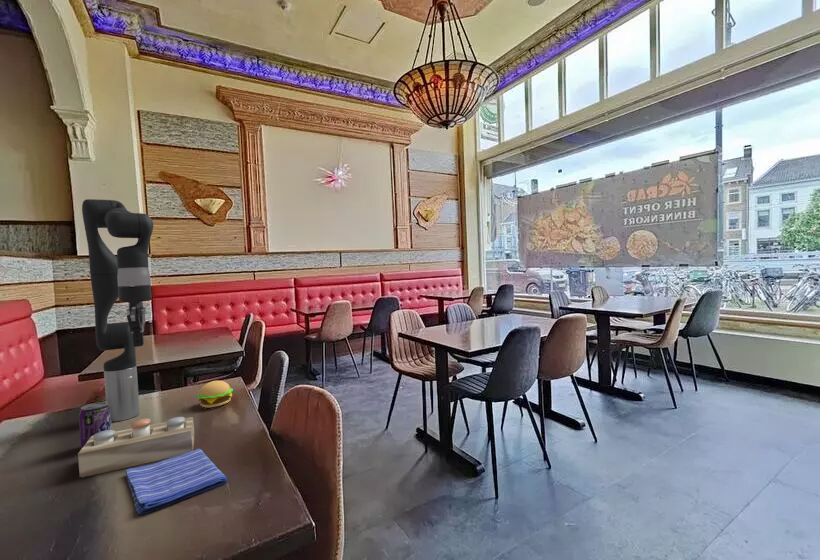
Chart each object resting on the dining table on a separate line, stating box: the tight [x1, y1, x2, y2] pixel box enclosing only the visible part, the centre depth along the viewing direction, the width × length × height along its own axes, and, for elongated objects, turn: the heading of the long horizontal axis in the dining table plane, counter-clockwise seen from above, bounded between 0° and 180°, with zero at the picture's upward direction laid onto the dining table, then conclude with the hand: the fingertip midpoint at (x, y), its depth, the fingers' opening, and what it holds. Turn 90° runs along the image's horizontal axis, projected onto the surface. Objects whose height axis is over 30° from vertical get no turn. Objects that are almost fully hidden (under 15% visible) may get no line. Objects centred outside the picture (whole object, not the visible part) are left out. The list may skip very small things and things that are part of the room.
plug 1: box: [93, 429, 116, 446], centre depth 102 cm, size 4×4×8 cm
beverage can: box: [78, 401, 113, 450], centre depth 113 cm, size 7×7×12 cm
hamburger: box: [196, 380, 234, 408], centre depth 145 cm, size 12×12×9 cm
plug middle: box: [130, 417, 152, 438], centre depth 105 cm, size 4×4×8 cm
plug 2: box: [165, 416, 186, 431], centre depth 109 cm, size 4×4×8 cm
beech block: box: [77, 416, 195, 478], centre depth 105 cm, size 12×24×6 cm, turn 117°
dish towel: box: [125, 448, 228, 516], centre depth 92 cm, size 17×24×3 cm
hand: (138, 346), depth 109 cm, fingers closed
